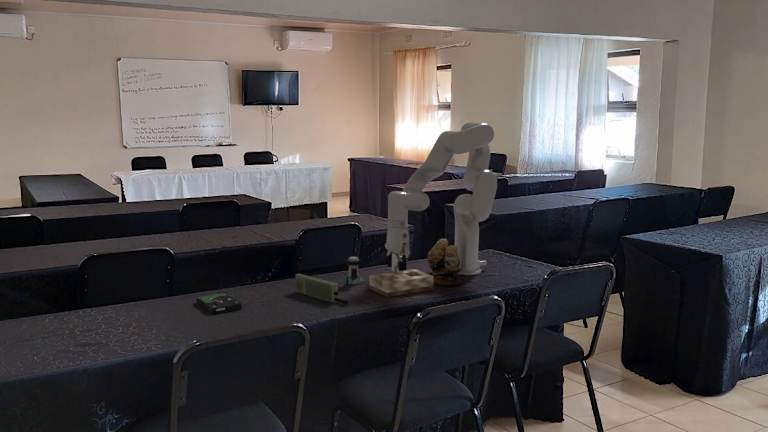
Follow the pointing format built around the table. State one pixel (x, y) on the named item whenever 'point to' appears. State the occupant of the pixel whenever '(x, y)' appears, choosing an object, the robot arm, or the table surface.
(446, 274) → the tan lumpy piece
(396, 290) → the socket block
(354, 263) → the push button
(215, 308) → the disk drive
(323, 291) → the handheld radio
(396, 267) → the pin
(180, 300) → the table surface
